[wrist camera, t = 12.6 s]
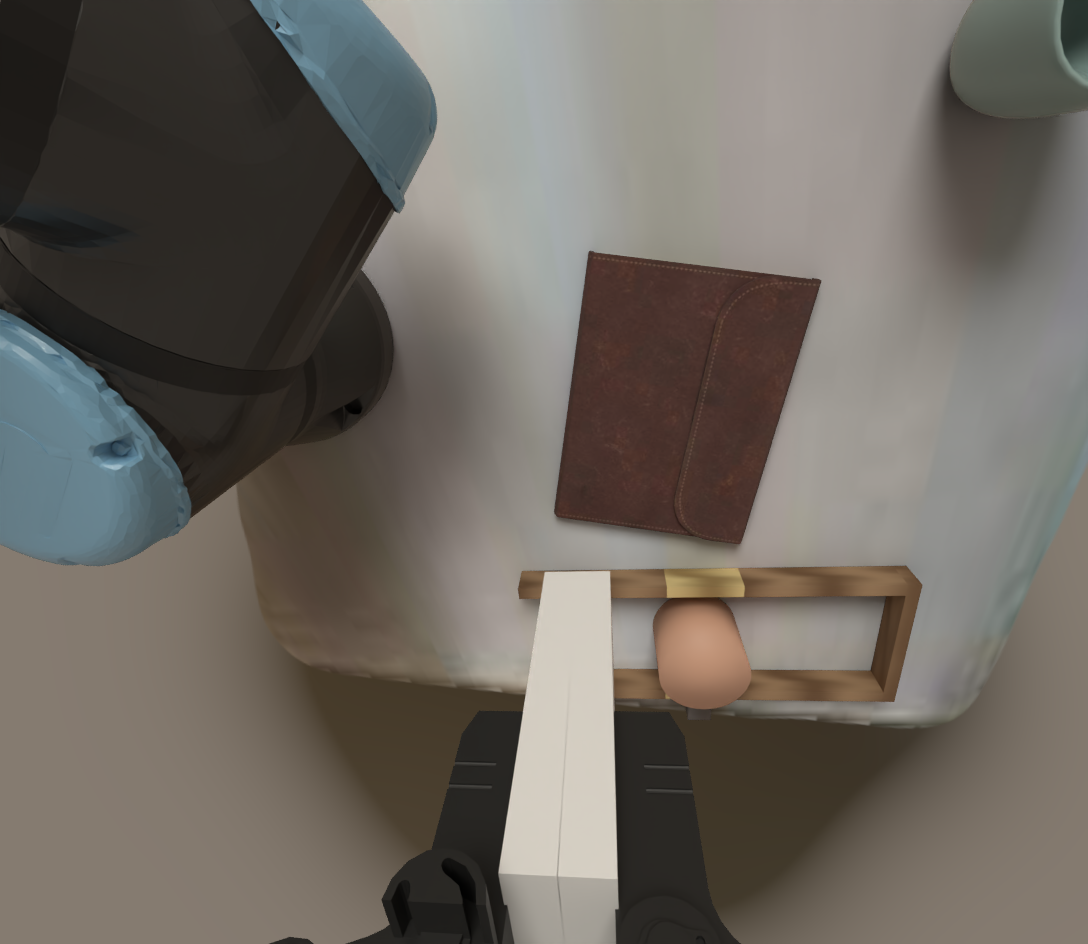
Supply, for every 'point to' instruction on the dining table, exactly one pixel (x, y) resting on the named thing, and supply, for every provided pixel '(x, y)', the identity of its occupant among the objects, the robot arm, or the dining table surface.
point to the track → (776, 583)
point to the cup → (1022, 58)
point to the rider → (700, 652)
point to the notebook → (677, 393)
